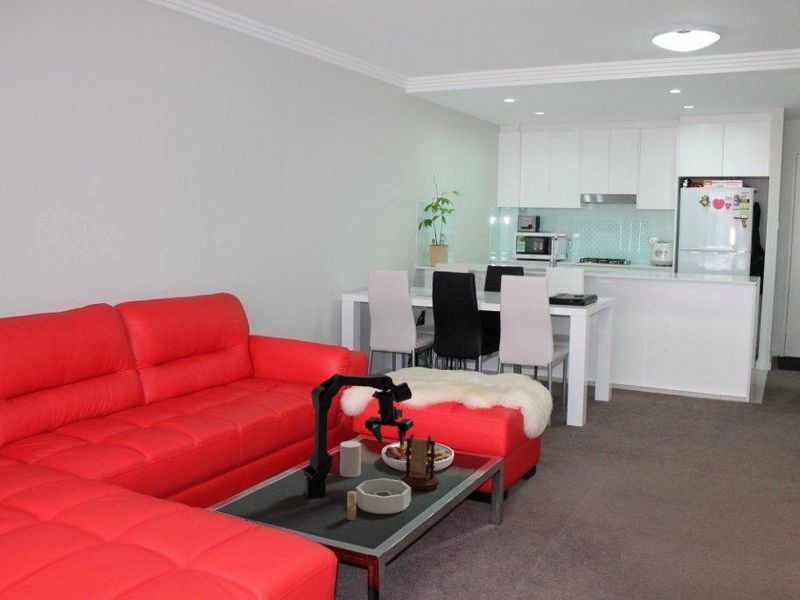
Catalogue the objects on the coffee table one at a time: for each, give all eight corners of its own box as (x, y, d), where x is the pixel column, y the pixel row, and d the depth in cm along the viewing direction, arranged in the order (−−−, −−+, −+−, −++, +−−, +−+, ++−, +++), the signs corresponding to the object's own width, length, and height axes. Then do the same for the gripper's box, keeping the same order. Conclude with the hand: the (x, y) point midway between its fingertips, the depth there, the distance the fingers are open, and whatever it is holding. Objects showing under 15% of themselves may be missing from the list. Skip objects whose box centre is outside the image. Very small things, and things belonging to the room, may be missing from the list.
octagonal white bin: (368, 517, 256) (369, 500, 255) (350, 498, 273) (350, 482, 272) (417, 509, 263) (418, 493, 263) (396, 491, 280) (396, 476, 279)
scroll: (395, 490, 282) (396, 438, 280) (405, 477, 296) (406, 427, 294) (434, 494, 278) (435, 442, 276) (442, 481, 292) (443, 431, 290)
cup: (351, 478, 293) (351, 448, 292) (335, 474, 298) (336, 444, 297) (364, 473, 300) (365, 443, 298) (349, 468, 305) (349, 439, 303)
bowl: (427, 448, 335) (428, 431, 334) (467, 468, 309) (468, 449, 308) (368, 458, 319) (369, 440, 318) (405, 480, 294) (406, 460, 293)
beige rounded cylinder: (348, 520, 253) (349, 494, 252) (345, 517, 255) (346, 491, 254) (357, 519, 254) (357, 493, 253) (354, 516, 257) (354, 490, 256)
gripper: (417, 399, 289) (422, 437, 292) (375, 398, 298) (380, 435, 301) (404, 410, 280) (409, 449, 283) (361, 408, 288) (366, 446, 291)
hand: (391, 444), depth 290 cm, fingers open, 9 cm apart
